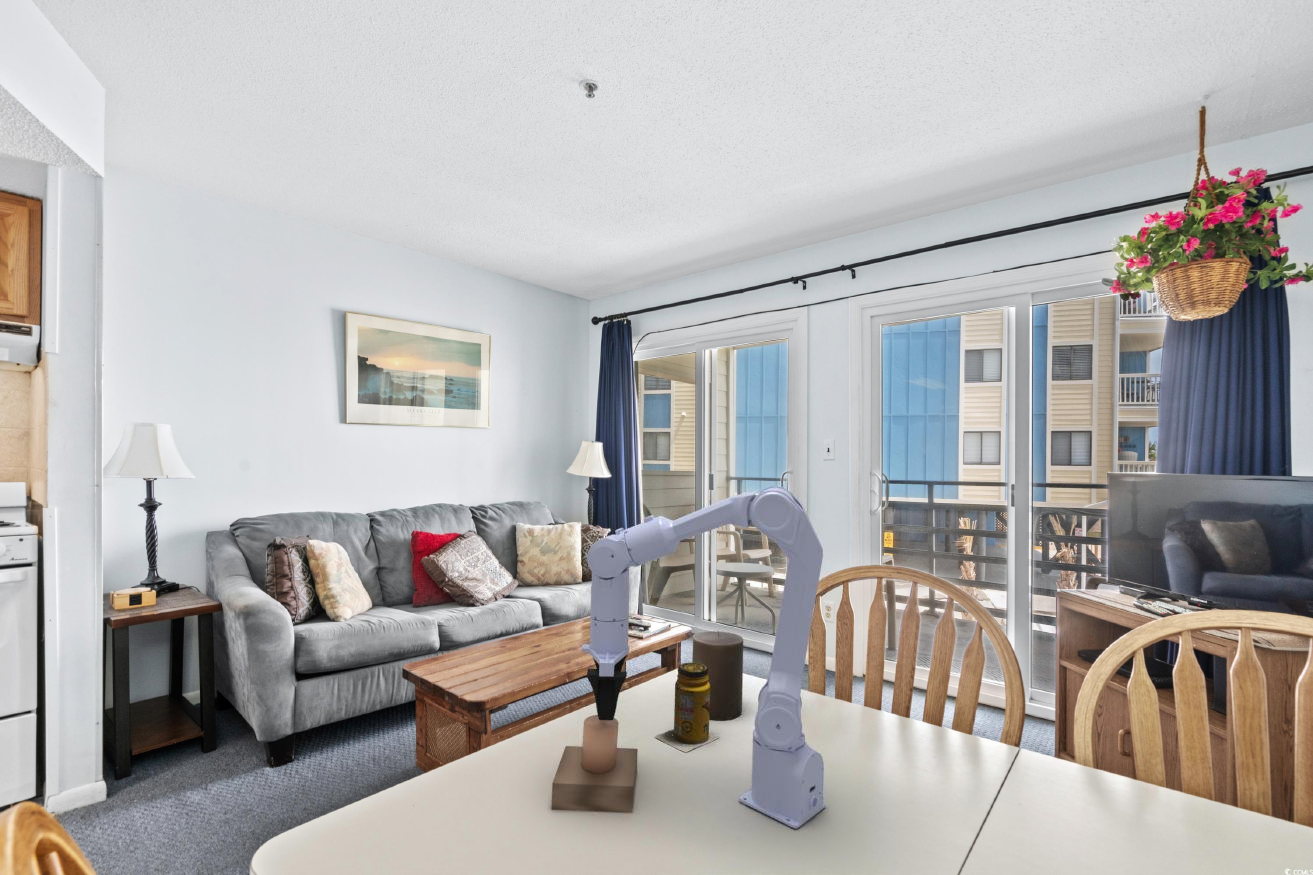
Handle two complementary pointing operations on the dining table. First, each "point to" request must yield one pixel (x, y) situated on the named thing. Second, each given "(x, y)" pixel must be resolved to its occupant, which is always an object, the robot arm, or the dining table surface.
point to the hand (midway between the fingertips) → (607, 708)
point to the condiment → (690, 709)
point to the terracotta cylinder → (599, 744)
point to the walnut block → (595, 783)
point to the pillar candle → (721, 671)
